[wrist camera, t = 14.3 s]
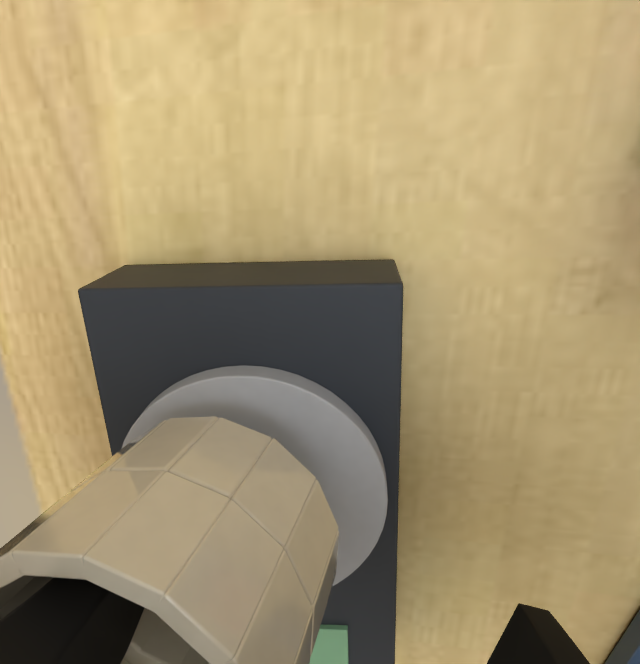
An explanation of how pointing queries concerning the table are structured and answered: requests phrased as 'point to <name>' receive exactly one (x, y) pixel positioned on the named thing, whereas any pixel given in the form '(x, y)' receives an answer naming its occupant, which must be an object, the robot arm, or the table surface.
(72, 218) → the table surface
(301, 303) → the scale
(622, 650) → the pad
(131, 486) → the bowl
